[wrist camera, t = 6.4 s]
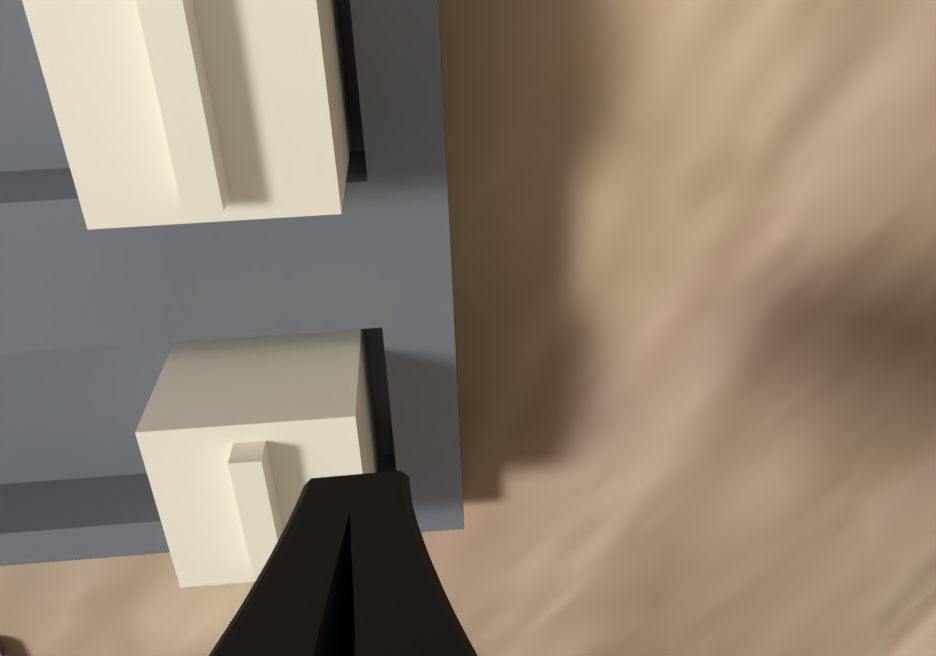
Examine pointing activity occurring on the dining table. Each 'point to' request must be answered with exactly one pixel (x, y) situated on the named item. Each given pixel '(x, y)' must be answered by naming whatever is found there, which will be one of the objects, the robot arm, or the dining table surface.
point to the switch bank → (219, 297)
